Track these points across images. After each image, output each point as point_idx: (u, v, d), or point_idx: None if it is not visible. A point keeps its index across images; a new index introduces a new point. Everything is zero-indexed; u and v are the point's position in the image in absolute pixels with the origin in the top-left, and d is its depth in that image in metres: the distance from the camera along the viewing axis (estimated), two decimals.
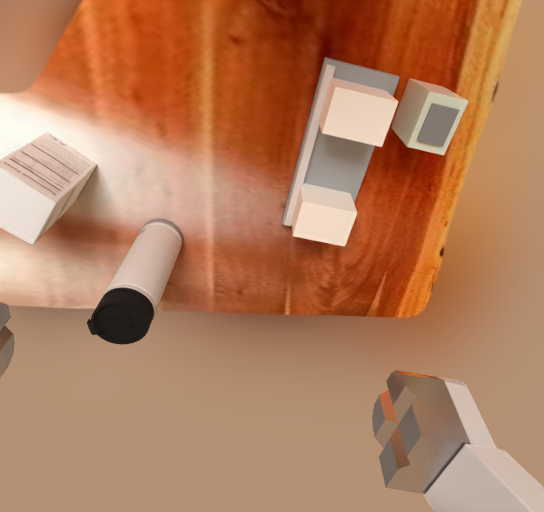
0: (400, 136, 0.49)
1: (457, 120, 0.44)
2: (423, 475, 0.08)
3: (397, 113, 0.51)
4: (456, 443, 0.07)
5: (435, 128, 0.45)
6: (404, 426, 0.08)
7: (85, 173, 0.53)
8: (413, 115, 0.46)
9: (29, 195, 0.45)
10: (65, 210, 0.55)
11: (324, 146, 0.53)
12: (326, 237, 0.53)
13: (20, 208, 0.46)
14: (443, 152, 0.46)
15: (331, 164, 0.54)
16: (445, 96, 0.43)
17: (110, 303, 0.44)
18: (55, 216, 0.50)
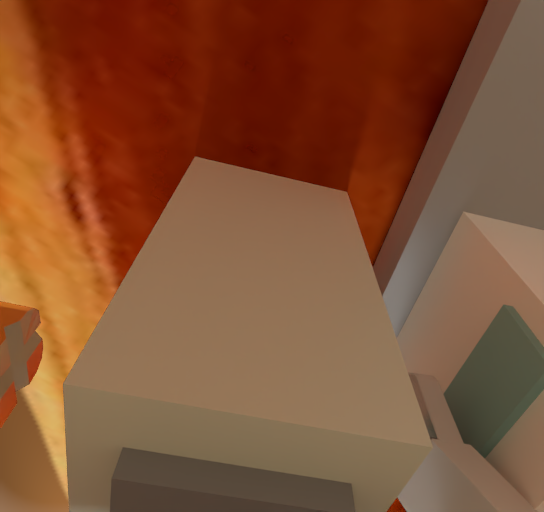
0: None
1: None
2: None
3: None
4: None
5: None
6: None
7: None
8: None
9: None
10: None
11: None
12: None
13: None
14: (80, 404, 0.05)
15: None
16: None
17: None
18: None
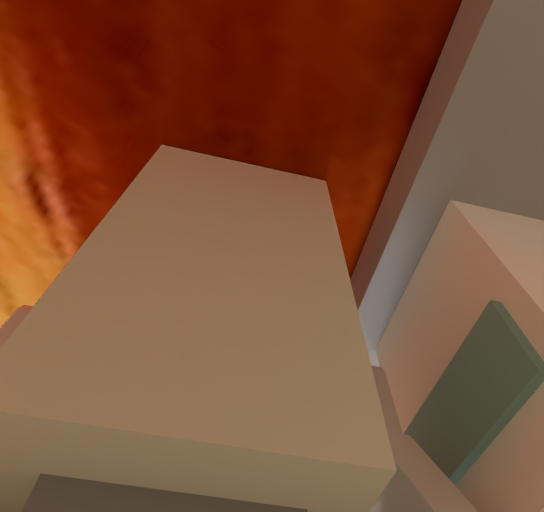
0: None
1: None
2: None
3: None
4: None
5: None
6: None
7: None
8: None
9: None
10: None
11: None
12: None
13: None
14: None
15: None
16: None
17: None
18: None
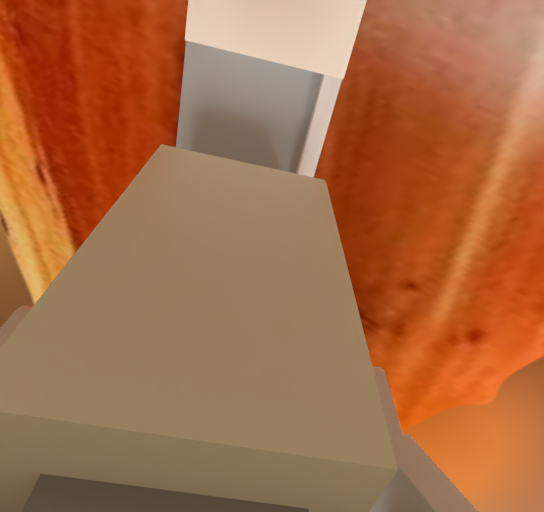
0: None
1: None
2: None
3: None
4: None
5: None
6: None
7: None
8: None
9: None
10: None
11: (277, 145, 0.26)
12: None
13: None
14: None
15: (260, 107, 0.25)
16: None
17: None
18: None
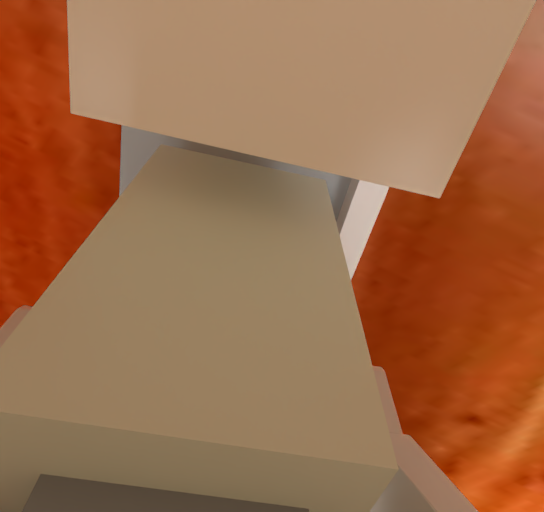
0: None
1: None
2: None
3: None
4: None
5: None
6: None
7: None
8: None
9: None
10: None
11: None
12: None
13: None
14: None
15: None
16: None
17: None
18: None
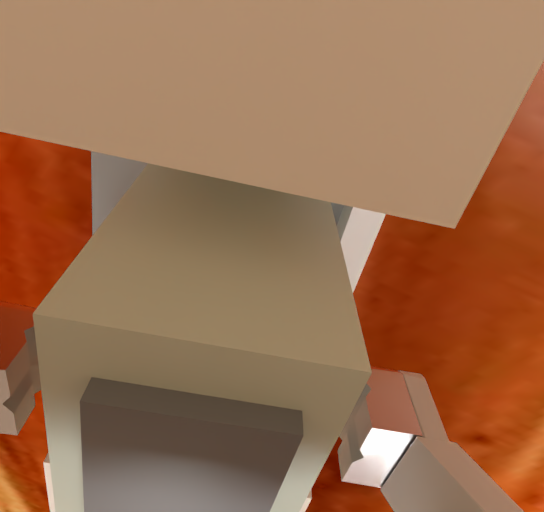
0: None
1: (66, 484, 0.07)
2: (378, 468, 0.08)
3: None
4: (408, 435, 0.07)
5: (194, 485, 0.06)
6: (359, 419, 0.08)
7: None
8: None
9: None
10: None
11: None
12: None
13: None
14: (49, 333, 0.05)
15: None
16: None
17: None
18: None
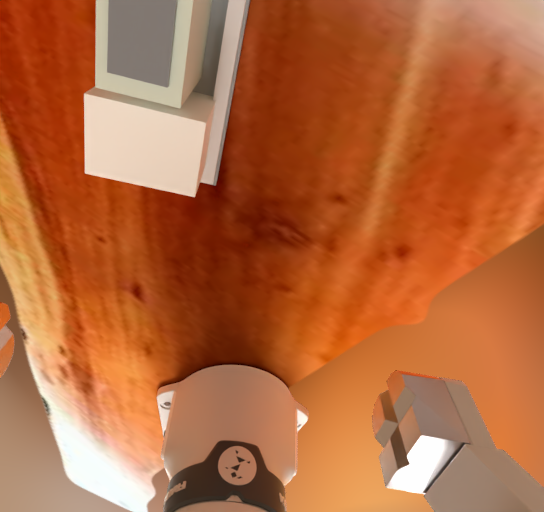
0: None
1: (100, 45, 0.20)
2: (423, 475, 0.08)
3: (209, 11, 0.26)
4: (456, 443, 0.07)
5: (144, 30, 0.20)
6: (404, 426, 0.08)
7: None
8: (193, 43, 0.22)
9: None
10: None
11: None
12: None
13: None
14: None
15: None
16: (145, 97, 0.22)
17: None
18: None
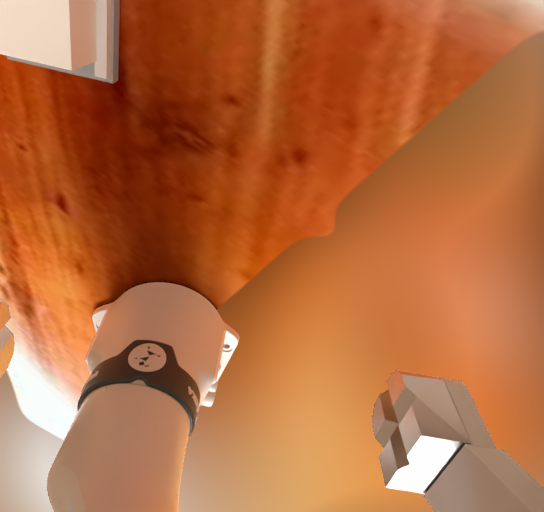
0: None
1: None
2: (423, 475, 0.08)
3: None
4: (456, 443, 0.07)
5: None
6: (404, 426, 0.08)
7: None
8: None
9: None
10: None
11: None
12: None
13: None
14: None
15: None
16: None
17: None
18: None
